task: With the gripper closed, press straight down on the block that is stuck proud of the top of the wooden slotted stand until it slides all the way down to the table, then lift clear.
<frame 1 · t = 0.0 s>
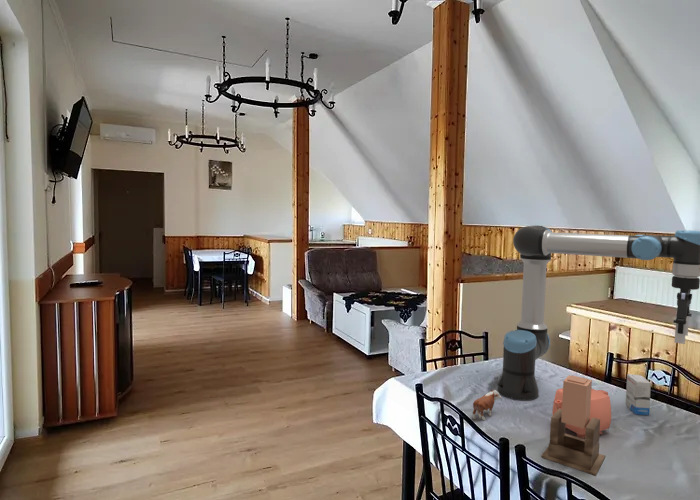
hand: (681, 338, 154), 28 cm above the table, fingers open, 13 cm apart
jammed block: (576, 400, 129), point 17 cm above the table, slide at 10.0 cm
wooden slotted stand: (573, 457, 130), on the table
ink box: (636, 410, 163), on the table
bull figurine: (485, 416, 156), on the table
teapot: (579, 430, 148), on the table
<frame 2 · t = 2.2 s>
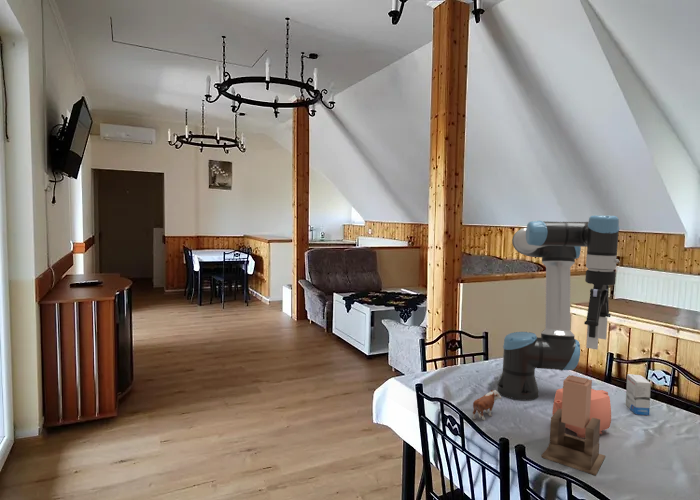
hand: (596, 343, 131), 32 cm above the table, fingers open, 13 cm apart
nothing on the table moved.
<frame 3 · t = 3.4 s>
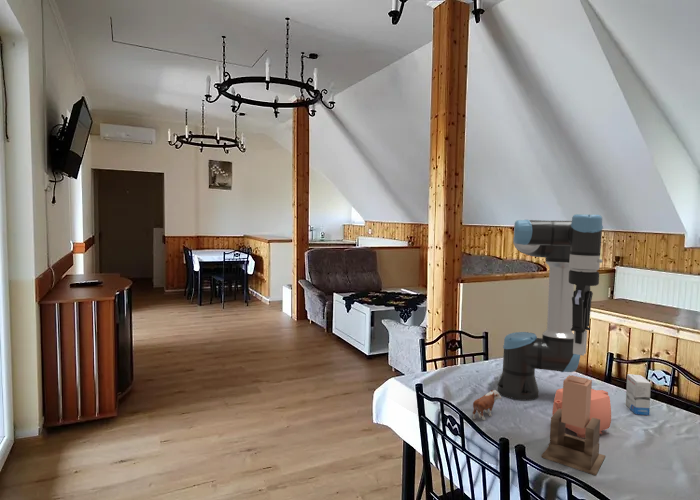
hand: (579, 353, 128), 30 cm above the table, fingers closed
nothing on the table moved.
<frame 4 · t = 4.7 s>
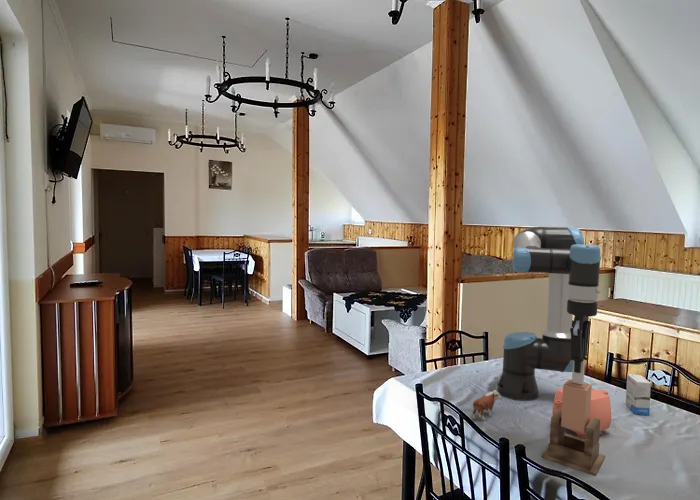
hand: (577, 382, 128), 22 cm above the table, fingers closed
jammed block: (576, 404, 129), point 16 cm above the table, slide at 8.7 cm, touching gripper
everything else where it was.
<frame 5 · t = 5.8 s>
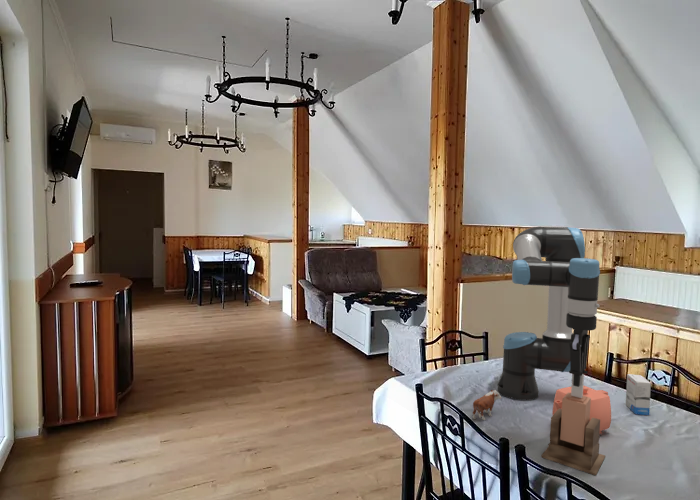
hand: (576, 396, 129), 18 cm above the table, fingers closed
jammed block: (575, 418, 129), point 12 cm above the table, slide at 4.8 cm, touching gripper
everything else where it was.
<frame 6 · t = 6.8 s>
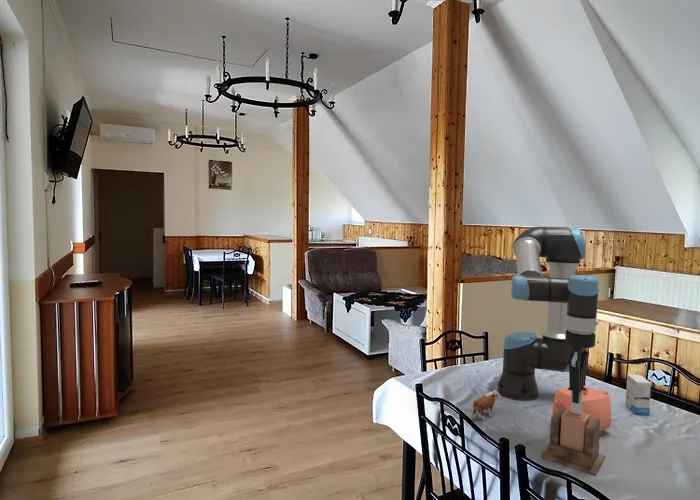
hand: (575, 412, 129), 13 cm above the table, fingers closed
jammed block: (574, 434, 130), point 7 cm above the table, slide at 0.0 cm, touching wooden slotted stand, gripper
everything else where it was.
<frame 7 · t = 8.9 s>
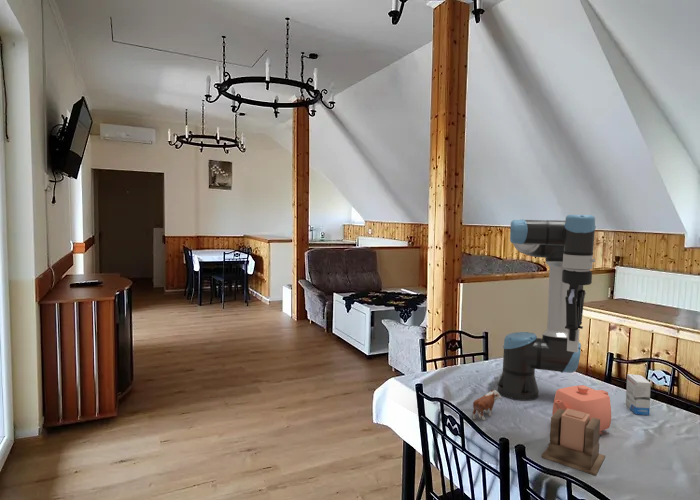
hand: (572, 351, 131), 30 cm above the table, fingers closed
jammed block: (574, 434, 130), point 7 cm above the table, slide at 0.0 cm, touching wooden slotted stand
everything else where it was.
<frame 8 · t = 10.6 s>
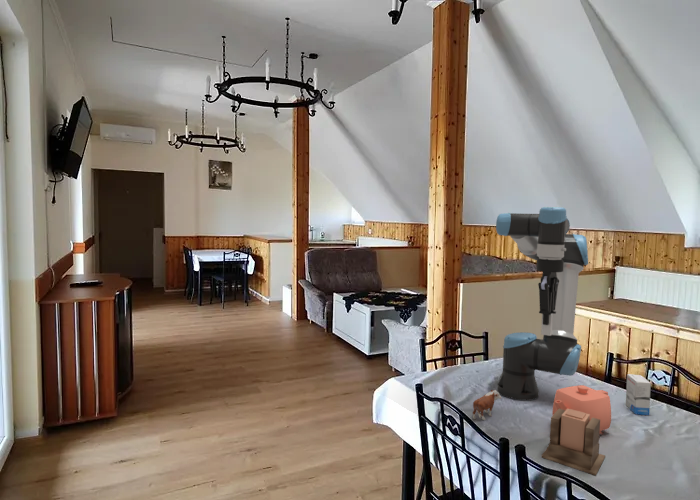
hand: (546, 334, 140), 32 cm above the table, fingers closed
nothing on the table moved.
at the end: jammed block slide at 0.0 cm; jammed block point 6.8 cm above the table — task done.
